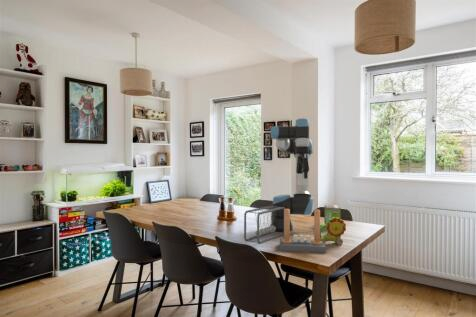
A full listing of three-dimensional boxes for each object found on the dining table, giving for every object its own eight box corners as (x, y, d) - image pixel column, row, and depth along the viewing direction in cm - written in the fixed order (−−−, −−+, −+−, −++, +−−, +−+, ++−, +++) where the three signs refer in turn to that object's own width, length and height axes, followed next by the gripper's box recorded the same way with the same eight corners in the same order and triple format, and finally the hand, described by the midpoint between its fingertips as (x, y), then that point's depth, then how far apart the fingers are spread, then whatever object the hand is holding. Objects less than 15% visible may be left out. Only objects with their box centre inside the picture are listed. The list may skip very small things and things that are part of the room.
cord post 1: (282, 240, 178) (282, 208, 178) (291, 241, 177) (291, 208, 177) (282, 243, 173) (282, 209, 173) (291, 243, 173) (291, 210, 172)
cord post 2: (312, 242, 176) (312, 209, 176) (321, 242, 175) (321, 209, 175) (312, 244, 171) (312, 210, 171) (322, 245, 170) (322, 211, 170)
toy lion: (319, 245, 180) (319, 218, 180) (316, 242, 186) (316, 216, 186) (347, 245, 181) (347, 218, 181) (343, 242, 186) (343, 216, 186)
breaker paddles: (293, 241, 176) (293, 234, 176) (310, 242, 174) (310, 235, 174) (293, 242, 174) (293, 235, 174) (310, 243, 173) (310, 236, 172)
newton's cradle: (271, 231, 212) (271, 205, 212) (285, 234, 206) (285, 206, 205) (243, 241, 189) (243, 211, 189) (258, 244, 182) (258, 213, 182)
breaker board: (279, 244, 182) (279, 239, 182) (323, 246, 178) (323, 240, 178) (279, 250, 170) (279, 245, 170) (326, 252, 166) (326, 247, 166)
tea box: (340, 229, 218) (340, 207, 218) (325, 228, 220) (325, 207, 220) (338, 224, 233) (338, 204, 233) (324, 224, 235) (324, 204, 235)
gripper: (291, 149, 191) (291, 184, 189) (300, 143, 166) (300, 184, 164) (303, 149, 191) (303, 185, 190) (315, 143, 167) (315, 184, 165)
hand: (302, 185), depth 177 cm, fingers open, 13 cm apart
